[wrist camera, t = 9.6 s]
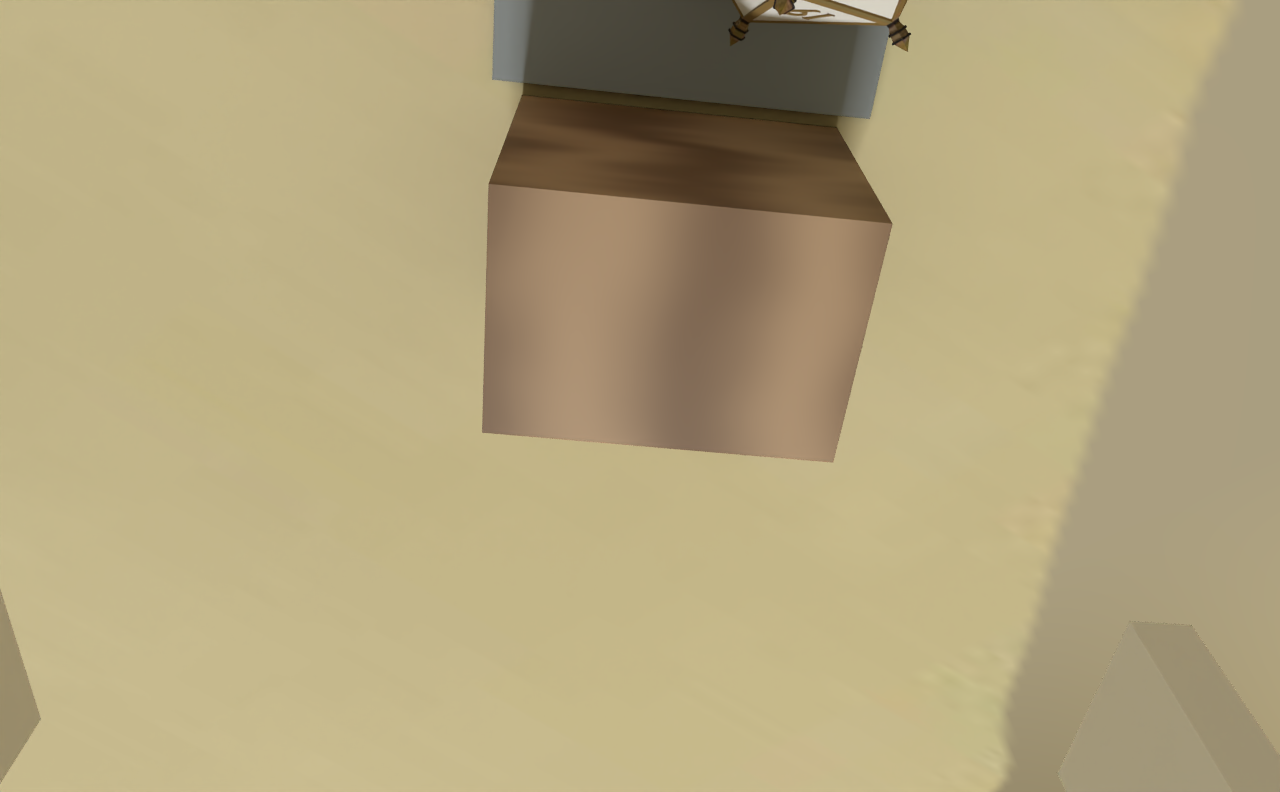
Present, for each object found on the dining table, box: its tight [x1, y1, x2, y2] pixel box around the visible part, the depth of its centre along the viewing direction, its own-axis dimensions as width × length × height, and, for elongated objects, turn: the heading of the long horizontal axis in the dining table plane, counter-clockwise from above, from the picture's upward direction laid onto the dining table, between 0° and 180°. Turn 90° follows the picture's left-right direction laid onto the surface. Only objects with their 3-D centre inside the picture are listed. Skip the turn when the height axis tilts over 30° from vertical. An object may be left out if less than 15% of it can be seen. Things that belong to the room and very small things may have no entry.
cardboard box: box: [482, 95, 892, 462], centre depth 33 cm, size 11×8×9 cm
